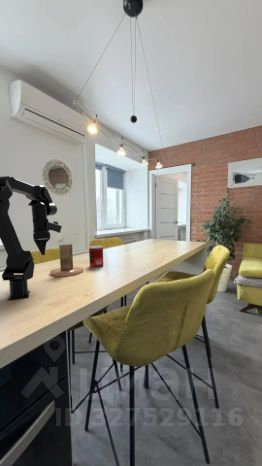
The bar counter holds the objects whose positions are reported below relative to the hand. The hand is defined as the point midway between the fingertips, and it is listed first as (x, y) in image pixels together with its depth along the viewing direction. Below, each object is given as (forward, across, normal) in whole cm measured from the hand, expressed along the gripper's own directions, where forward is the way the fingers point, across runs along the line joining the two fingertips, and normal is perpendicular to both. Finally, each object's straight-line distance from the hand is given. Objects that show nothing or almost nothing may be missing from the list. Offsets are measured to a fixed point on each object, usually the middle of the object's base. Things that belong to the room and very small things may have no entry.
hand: (42, 253), depth 95 cm
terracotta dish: (+14, +12, -11) cm, 21 cm away
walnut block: (+12, +13, -11) cm, 21 cm away
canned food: (+15, +20, -28) cm, 37 cm away
